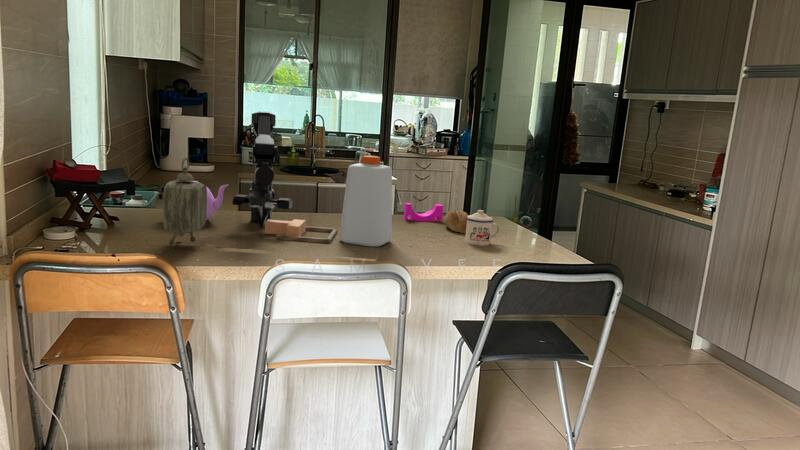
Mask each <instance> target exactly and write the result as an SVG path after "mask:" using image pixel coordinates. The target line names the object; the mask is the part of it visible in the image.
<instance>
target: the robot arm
mask: <svg viewBox="0 0 800 450" xmlns="http://www.w3.org/2000/svg"><path fill="white" fill-rule="evenodd" d="M276 117H277V116H276V114H273V113H272V112H270V111H263V110H262V111H261V110H258V111H256V112H254V113H251V121H250V122H251V126H253V127H252V129H253V130H252V131H253V133H254V135H255V137H256V138H255V139H254V144H253V145H252V151H251V152H252V153H251V154H252V155H251V160H252V161H251V162H252V163H251V164H253V165H254V164H255V166H254V179H253V182H252V183H251V188H249V195H248V194H240V193H239V194H235V195H234V196H233V197H232V199H231V200H232V201H231V202H232V203H231V205H234V206H235V205H236V206H242V205H244V204H248V205H249V209H250V210H251V211H250V220H249V223H254V224H255V223H256V224H259V227H260V228H264V227H265V221H267V220H268V219H269V220H273V219H272V217H273V216H272V215H273V210H274V209H275V208H276V207H277V208H278V209H281V210H282V209H283V210H289V209H292V207H293V200H292V198H290V197H289V198H288V197H280V198H278V199H276V193H275V190H274V189H273V185H274V184H273V181H274V179H275V178H274V177H275V174H274V167H273V165H276V166H277V164H278V163H279V149H278V146H276V145H275V139H273V138H272V137H271V135H272V134H273V131H274V127H276V119H277V118H276Z"/></svg>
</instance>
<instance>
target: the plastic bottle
mask: <svg viewBox="0 0 800 450" xmlns="http://www.w3.org/2000/svg"><path fill="white" fill-rule="evenodd" d="M360 160H361V161H360V162H359V163H354V164H353V163H352V164H350V165H348V167H347V173H346V179H345V180H346V181H345V182H346V183H345V189H344V196H343V205H342V213H341V219H340V229H339V240H340V241H341V242H342V243H344V244H350V245H358V246H364V247H370V248H375V247H377V248H378V247H380V246H383V245H385V244H387V243H389V242H391V241H392V239H393V235H392V234H393V225H392V224H393V223H392V220H393V204H392V203H393V201H392V200H393V170H392V167H391V166H390V165H384V164H381V156H377V155H362V156H361V159H360Z"/></svg>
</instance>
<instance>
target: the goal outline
mask: <svg viewBox="0 0 800 450" xmlns="http://www.w3.org/2000/svg"><path fill="white" fill-rule="evenodd" d="M305 231H309V232H321V233H322V232H323V233H330V234H329V235H328V236H327V238H323V237H311V236H310V237H309V236H301V237H300V236H287V235H279V234H275V240H283V241H293V242H294V241H296V242H309V243H322V244H330V243H332V242H333V241H332V240H333V239H334V238H335V236H337V233H338V228H333V227H318V226H306V227H305Z"/></svg>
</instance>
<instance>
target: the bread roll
mask: <svg viewBox="0 0 800 450" xmlns="http://www.w3.org/2000/svg"><path fill="white" fill-rule="evenodd" d="M469 215H470V214H468V212H465V211H462V210H455V209H454V210H449V211H448V212H447V213H446V215H445V216H444V218H443V221H444V224H445V226H446V227H447V228H449V230H451V231H452V232H455V233H457V232H460V233H459V234H466V226H467V216H469Z"/></svg>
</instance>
